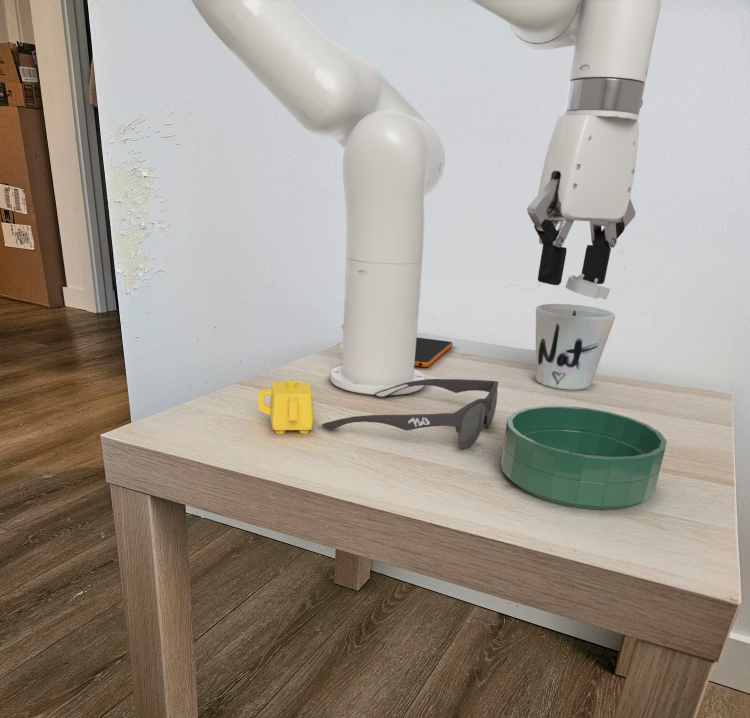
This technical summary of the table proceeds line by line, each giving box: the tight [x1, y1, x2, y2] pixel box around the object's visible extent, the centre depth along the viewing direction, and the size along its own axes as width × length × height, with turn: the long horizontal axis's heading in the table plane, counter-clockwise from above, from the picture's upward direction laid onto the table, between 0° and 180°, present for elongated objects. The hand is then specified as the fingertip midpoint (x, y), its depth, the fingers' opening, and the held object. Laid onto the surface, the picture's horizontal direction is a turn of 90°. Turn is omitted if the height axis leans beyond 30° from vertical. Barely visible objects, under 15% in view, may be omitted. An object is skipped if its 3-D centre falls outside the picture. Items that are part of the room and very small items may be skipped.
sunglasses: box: [321, 378, 499, 450], centre depth 75 cm, size 16×17×5 cm
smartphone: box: [414, 336, 454, 368], centre depth 106 cm, size 8×17×1 cm, turn 161°
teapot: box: [257, 379, 314, 435], centre depth 71 cm, size 8×6×5 cm
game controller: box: [503, 273, 611, 300], centre depth 76 cm, size 6×12×3 cm, turn 105°
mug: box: [535, 303, 616, 391], centre depth 95 cm, size 10×15×10 cm
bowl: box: [500, 405, 668, 510], centre depth 63 cm, size 14×14×5 cm
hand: (571, 281), depth 78 cm, fingers closed on game controller, 6 cm apart
